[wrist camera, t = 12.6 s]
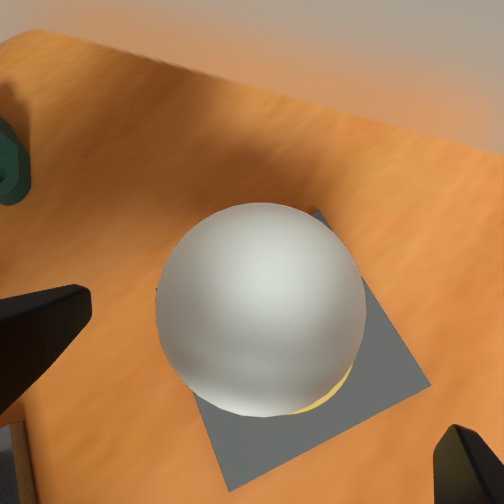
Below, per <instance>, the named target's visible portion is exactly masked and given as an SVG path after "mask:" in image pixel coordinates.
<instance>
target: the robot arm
mask: <svg viewBox="0 0 504 504" xmlns="http://www.w3.org/2000/svg"><path fill="white" fill-rule="evenodd" d="M91 317H92V303H91V292H90V290H89V289H88V288H86V287H83V286H80V285H77V284H71V285H66V286H62V287H57V288H52V289H47V290H43V291H38V292H33V293H28V294H24V295H19V296H14V297H9V298H5V299H0V415H1V414H2V413H3V412H4V411H6V410H7V409H8V408H9V407H10V406H11V405H12V404H13V403H14V402H15V401H16V400H17V399H18V398H19V397H20V396H21V395H22V394H23V393H24V392H25V391H26V390H27V389H28V388H29V387H30V386H31V385H32V384H33V383H34V382H35V381H36V380H37V379H38V378H39V377H40V376H41V375H42V374H43V373H44V372H45V371H46V370H47V369H48V368H49V367H50V366H51V365H52V364H53V363H54V362H55V361H56V359H57V358H58V357H59V356H60V355H61V354H62V353H63V351H64V350H65V349H66V348H67V347H68V346H69V344H70V343H71V342H72V341H73V340H74V339H75V337H76V336H77V335H78V334H79V333H80V332H81V330H82V329H83V328H84V327H85V326H86V325H87V323H88V322H89V321H90V319H91ZM433 474H434V504H504V465H503V464H502V462H501V461H500V460H499V459H498V457H497V456H496V455H495V454H494V453H493V451H492V450H491V449H490V448H489V446H488V445H487V444H486V443H485V442H484V440H483V439H482V438H481V437H480V435H479V434H478V433H476V432H475V431H473V430H471V429H468V428H465V427H463V426H460V425H457V424H453V425H451V426H450V427H449V428H448V429H447V431H446V432H445V434H444V435H443V437H442V438H441V440H440V441H439V442H438V444H437V445H436V447H435V450H434V454H433Z"/></svg>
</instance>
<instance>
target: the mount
mask: <svg viewBox="0 0 504 504" xmlns="http://www.w3.org/2000/svg"><path fill="white" fill-rule="evenodd" d="M30 187H31V178H30V162H29V155H28V153H27V152H26V150H25V148H24V147H23V145H22V144H21V142H20V141H19V139H18V137H17V136H16V134H15V133H14V131H13V130H12V128H11V126H10V125H9V124H8V123H7V122H6V121H4V120H3V119H2V118H1V117H0V203H1V204H3V205H13V204H16V203H18V202H20V201H21V200H22V199H24V198H25V197H26V195H27V194H28V192H29V190H30Z"/></svg>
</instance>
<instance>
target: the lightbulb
mask: <svg viewBox="0 0 504 504" xmlns="http://www.w3.org/2000/svg"><path fill="white" fill-rule="evenodd" d="M155 315H156V325H157V329H158V334H159V338H160V342H161V346H162V348H163V350H164V353H165V355H166V357H167V359H168V361H169V364H170V365H171V367H172V368H173V369H174V371H175V372H176V373H177V375H178V376H179V378H180V379H181V380H182V382H184V383H185V384H186V385H187V386H188V387H189V388H190V389H191V390H192V391H193V392H195V393H196V394H197V395H198V396H199V397H201V398H203V399H204V400H206V401H208V402H210V403H211V404H213V405H215V406H216V407H218V408H220V409H223V410H226V411H229V412H232V413H235V414H239V415H242V416H254V417H271V416H278V415H286V414H289V413H292V412H294V411H297V410H300V409H303V408H305V407H308V406H310V405H311V404H313V403H314V402H316V401H317V400H319V399H320V398H322V397H323V396H325V395H327V394H328V393H329V392H330V391H331V390H332V389H333V388H334V387H335V386H336V385H337V384H338V383H339V382H340V381H341V380H342V379H343V378H344V376H345V374H346V373H347V371H348V370H349V368H350V366H351V365H352V363H353V362H354V360H355V358H356V356H357V353H358V350H359V347H360V345H361V342H362V339H363V334H364V327H365V320H366V299H365V290H364V286H363V282H362V279H361V275H360V272H359V270H358V268H357V266H356V264H355V262H354V260H353V258H352V256H351V254H350V252H349V251H348V250H347V248H346V247H345V246H344V244H343V243H342V242H341V241H340V239H339V238H338V237H337V235H336V234H335V233H333V232H332V231H331V230H330V229H329V228H328V227H327V226H326V225H324V224H323V223H322V222H321V221H319V220H317V219H316V218H314V217H312V216H311V215H309V214H307V213H306V212H303V211H300V210H298V209H295V208H292V207H290V206H286V205H280V204H274V203H247V204H242V205H236V206H232V207H229V208H226V209H224V210H221V211H218V212H216V213H214V214H212V215H211V216H209V217H207V218H205V219H204V220H202V221H200V222H199V223H198V224H197V225H195V226H194V227H193V228H192V229H191V230H189V231H188V232H187V233H186V234H185V235H184V236H183V238H182V239H181V240H180V241H179V242H178V243H177V245H176V246H175V247H174V249H173V250H172V252H171V254H170V255H169V257H168V259H167V261H166V262H165V264H164V267H163V270H162V273H161V275H160V278H159V281H158V286H157V292H156V298H155Z"/></svg>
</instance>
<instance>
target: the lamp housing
mask: <svg viewBox="0 0 504 504" xmlns="http://www.w3.org/2000/svg"><path fill="white" fill-rule="evenodd" d="M0 504H37V500H36V494H35V488H34V482H33V476H32V469H31V463H30V457H29V451H28V445H27V438H26V432H25V426H24V421H23V422H18V423H13V424H8V425H6V426H4V427H2V428H0Z"/></svg>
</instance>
